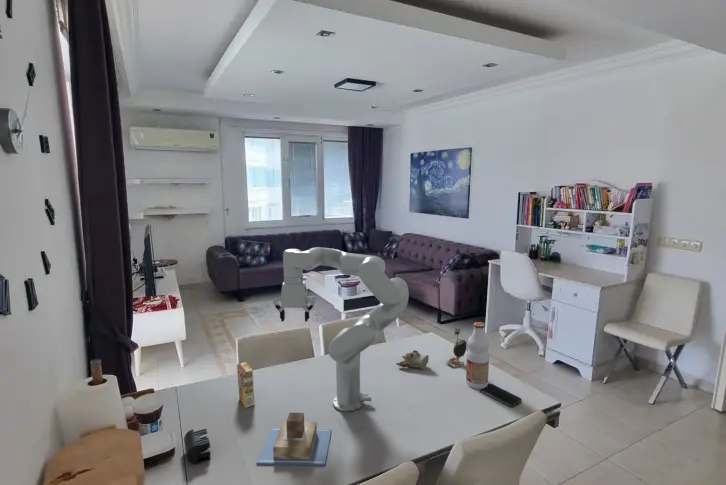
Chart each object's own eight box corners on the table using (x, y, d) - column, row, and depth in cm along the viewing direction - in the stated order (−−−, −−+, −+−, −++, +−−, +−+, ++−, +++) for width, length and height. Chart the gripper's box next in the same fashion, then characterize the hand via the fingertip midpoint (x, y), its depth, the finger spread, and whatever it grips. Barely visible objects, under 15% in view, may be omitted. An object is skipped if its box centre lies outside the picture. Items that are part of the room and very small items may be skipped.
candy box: (255, 405, 161) (253, 369, 159) (244, 408, 159) (242, 372, 156) (248, 395, 168) (246, 361, 166) (238, 398, 166) (236, 364, 164)
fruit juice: (479, 391, 170) (482, 329, 166) (461, 383, 178) (463, 323, 173) (492, 384, 176) (495, 324, 172) (474, 376, 183) (476, 318, 179)
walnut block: (304, 428, 138) (303, 412, 137) (301, 437, 133) (301, 421, 132) (290, 428, 138) (289, 412, 137) (286, 437, 133) (286, 421, 132)
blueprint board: (331, 430, 144) (331, 429, 144) (324, 465, 127) (324, 463, 127) (271, 429, 145) (271, 427, 145) (256, 464, 127) (256, 462, 127)
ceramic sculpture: (425, 356, 185) (395, 352, 191) (426, 374, 186) (396, 369, 192) (431, 347, 194) (402, 344, 201) (432, 364, 195) (403, 361, 202)
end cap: (184, 449, 135) (183, 431, 134) (207, 443, 138) (205, 425, 137) (187, 468, 126) (185, 448, 125) (211, 460, 130) (209, 441, 128)
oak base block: (316, 433, 143) (316, 421, 142) (310, 461, 129) (309, 447, 128) (283, 433, 143) (283, 420, 142) (273, 460, 129) (273, 446, 129)
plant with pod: (471, 364, 195) (472, 325, 192) (452, 369, 191) (453, 329, 188) (460, 358, 203) (462, 320, 200) (442, 362, 198) (443, 323, 195)
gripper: (316, 277, 163) (317, 317, 166) (274, 277, 164) (276, 317, 167) (313, 282, 156) (314, 323, 159) (269, 282, 157) (271, 323, 159)
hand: (294, 320), depth 163 cm, fingers open, 9 cm apart
